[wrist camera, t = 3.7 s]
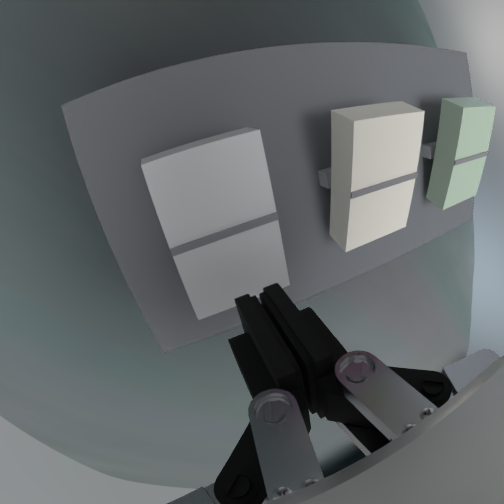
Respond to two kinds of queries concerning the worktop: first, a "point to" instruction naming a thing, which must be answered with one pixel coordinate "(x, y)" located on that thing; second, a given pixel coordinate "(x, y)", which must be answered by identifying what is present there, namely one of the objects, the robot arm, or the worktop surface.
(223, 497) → the robot arm
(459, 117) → the rocker sage
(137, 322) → the worktop surface
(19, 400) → the worktop surface
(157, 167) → the rocker grey
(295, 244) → the console
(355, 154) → the rocker ivory
